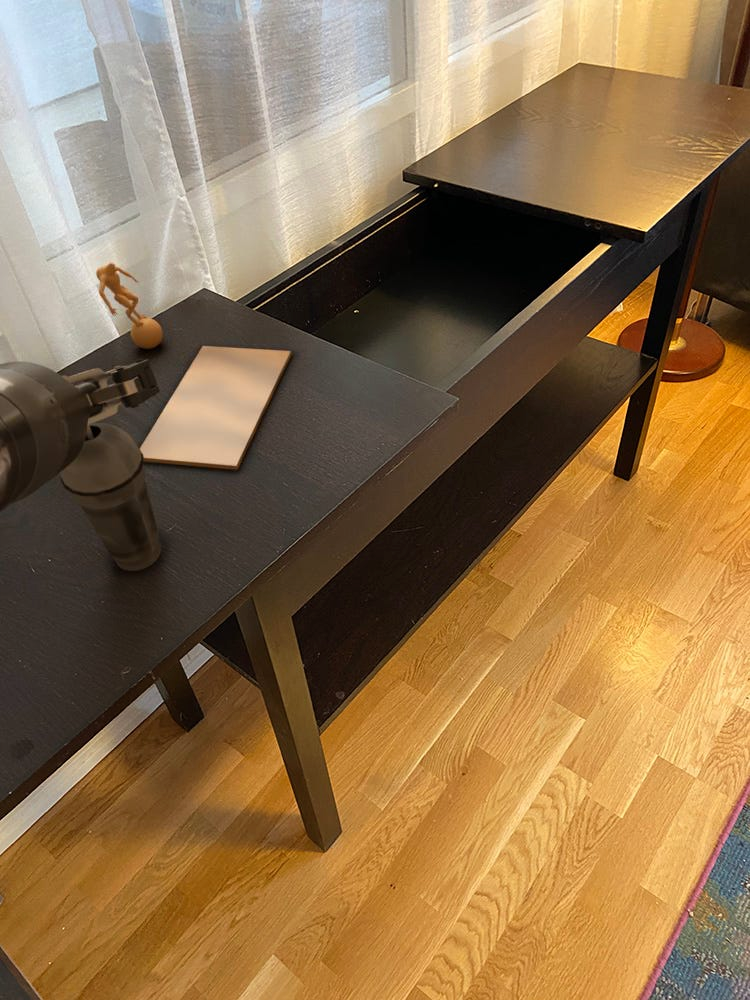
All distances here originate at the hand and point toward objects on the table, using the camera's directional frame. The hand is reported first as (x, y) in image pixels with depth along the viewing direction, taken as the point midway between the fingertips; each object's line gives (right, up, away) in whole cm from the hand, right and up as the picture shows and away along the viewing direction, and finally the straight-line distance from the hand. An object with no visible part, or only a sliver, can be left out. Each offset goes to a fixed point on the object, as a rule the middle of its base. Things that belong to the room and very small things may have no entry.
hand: (79, 395), depth 61 cm
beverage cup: (0, -14, +16) cm, 21 cm away
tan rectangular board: (+4, +3, +33) cm, 33 cm away
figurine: (-8, +12, +43) cm, 45 cm away
